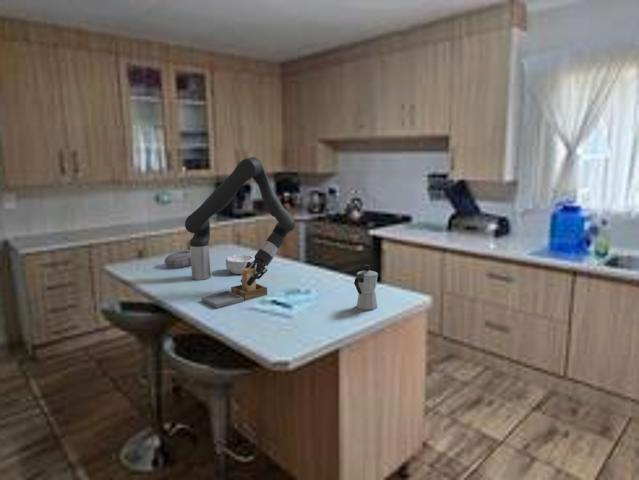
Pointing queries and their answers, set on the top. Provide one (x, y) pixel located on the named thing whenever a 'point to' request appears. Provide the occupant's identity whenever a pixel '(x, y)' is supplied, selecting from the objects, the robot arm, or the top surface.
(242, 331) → the top surface
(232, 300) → the tray
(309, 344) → the top surface
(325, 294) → the top surface
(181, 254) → the grey rounded bag
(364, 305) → the coffee maker
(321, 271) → the top surface
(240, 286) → the square wooden frame
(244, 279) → the oak peg
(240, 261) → the paper bowls
